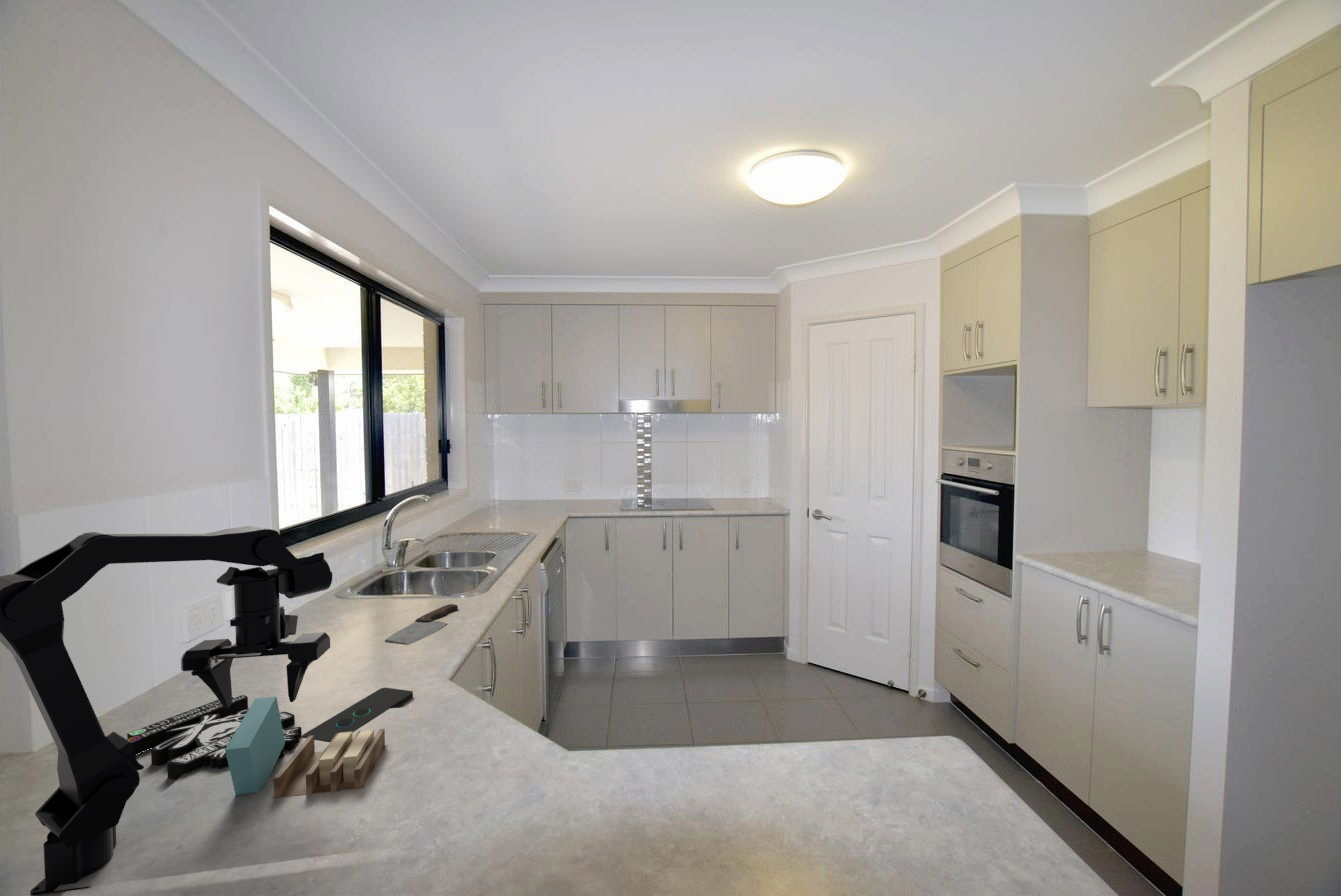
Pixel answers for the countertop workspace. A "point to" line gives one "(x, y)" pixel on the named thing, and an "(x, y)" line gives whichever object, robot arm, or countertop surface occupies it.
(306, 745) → the rack
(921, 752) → the countertop surface
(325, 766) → the block
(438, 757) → the countertop surface
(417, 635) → the cleaver
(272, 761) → the block
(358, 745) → the offcut front
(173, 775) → the sign
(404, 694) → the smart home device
